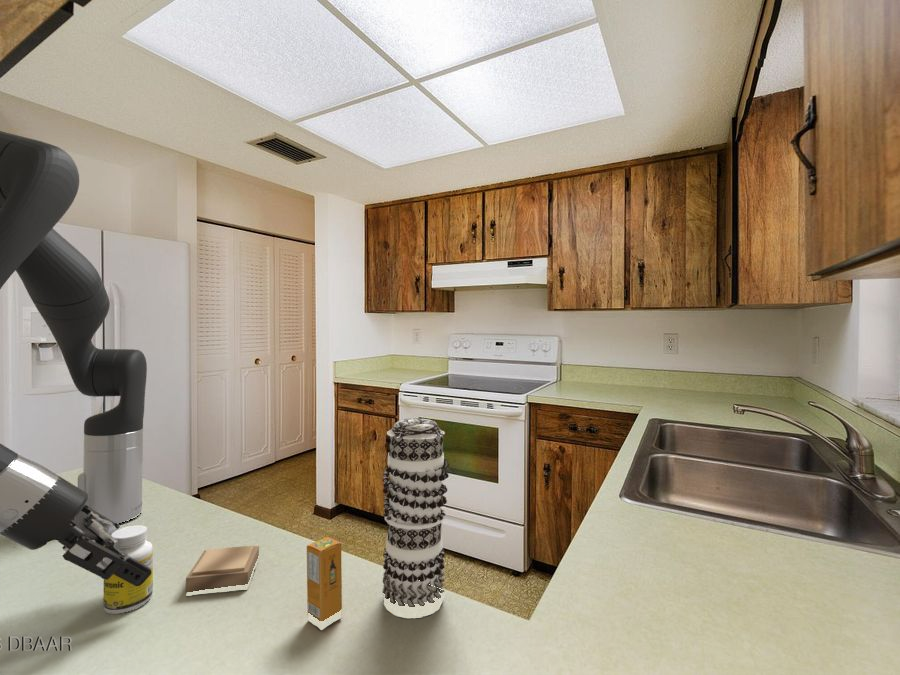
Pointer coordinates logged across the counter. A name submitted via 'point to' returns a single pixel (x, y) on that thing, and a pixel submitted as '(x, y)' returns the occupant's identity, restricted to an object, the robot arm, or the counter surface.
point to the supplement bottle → (119, 591)
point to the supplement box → (324, 578)
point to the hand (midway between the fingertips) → (142, 566)
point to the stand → (222, 568)
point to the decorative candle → (414, 512)
